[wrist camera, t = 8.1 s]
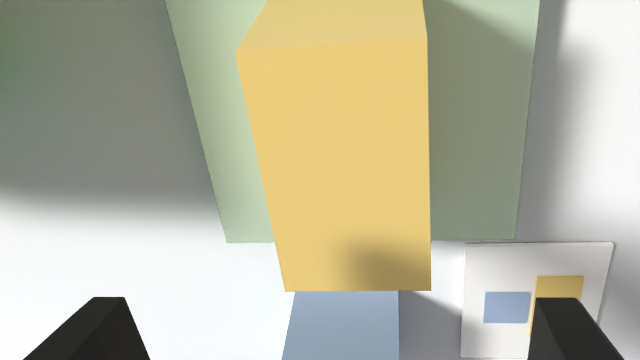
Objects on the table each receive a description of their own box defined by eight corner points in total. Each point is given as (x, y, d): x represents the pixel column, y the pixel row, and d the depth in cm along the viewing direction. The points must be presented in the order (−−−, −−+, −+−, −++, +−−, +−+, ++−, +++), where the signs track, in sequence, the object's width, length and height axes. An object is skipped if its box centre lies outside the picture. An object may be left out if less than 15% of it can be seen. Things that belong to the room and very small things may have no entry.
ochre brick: (424, 202, 18) (431, 290, 15) (304, 206, 19) (285, 291, 16) (419, -16, 14) (427, 36, 11) (269, -3, 15) (234, 50, 12)
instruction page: (586, 356, 23) (588, 362, 22) (460, 353, 24) (460, 359, 23) (611, 241, 19) (614, 247, 19) (464, 243, 20) (465, 249, 20)
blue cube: (399, 350, 24) (400, 437, 21) (307, 348, 25) (294, 432, 21) (398, 282, 22) (399, 367, 19) (297, 281, 22) (281, 363, 19)
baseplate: (510, 220, 19) (515, 239, 19) (233, 225, 21) (226, 242, 20) (540, -95, 14) (549, -89, 13) (165, -57, 16) (152, -50, 15)
